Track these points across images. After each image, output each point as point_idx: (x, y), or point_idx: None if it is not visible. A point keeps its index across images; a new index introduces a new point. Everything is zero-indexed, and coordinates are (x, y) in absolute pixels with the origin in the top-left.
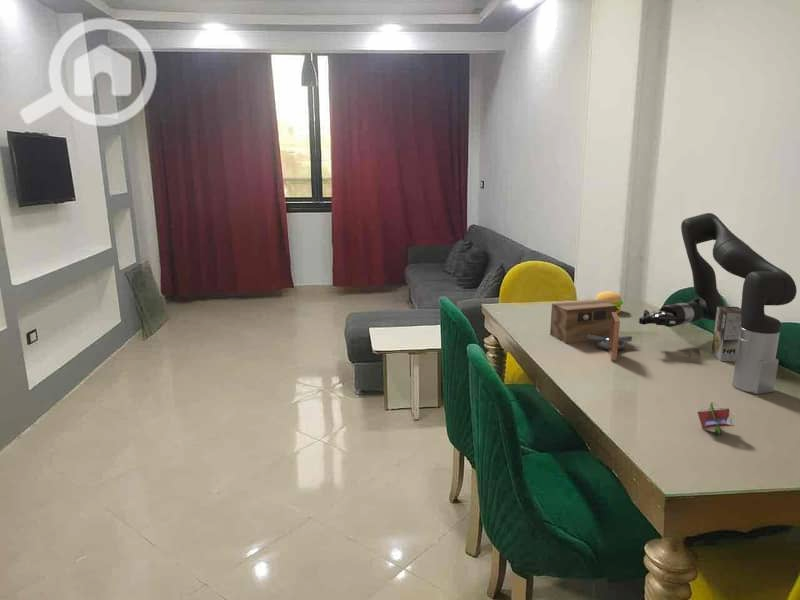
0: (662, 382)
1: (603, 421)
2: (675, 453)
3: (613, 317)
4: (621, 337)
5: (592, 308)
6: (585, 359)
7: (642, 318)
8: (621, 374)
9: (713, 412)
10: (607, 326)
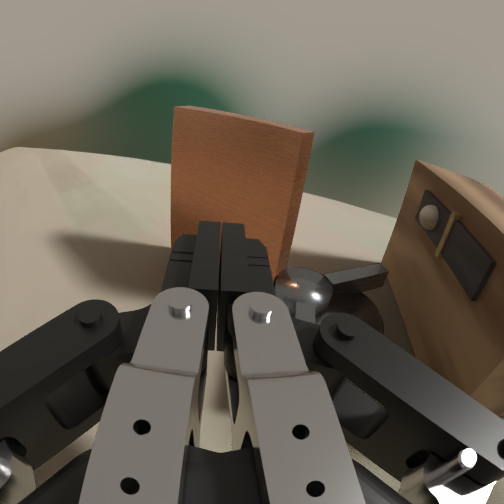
0: (23, 237)
1: (72, 153)
2: (7, 161)
3: (230, 113)
4: None
5: (465, 201)
6: None
7: (212, 222)
8: (111, 217)
9: None
10: (460, 353)
